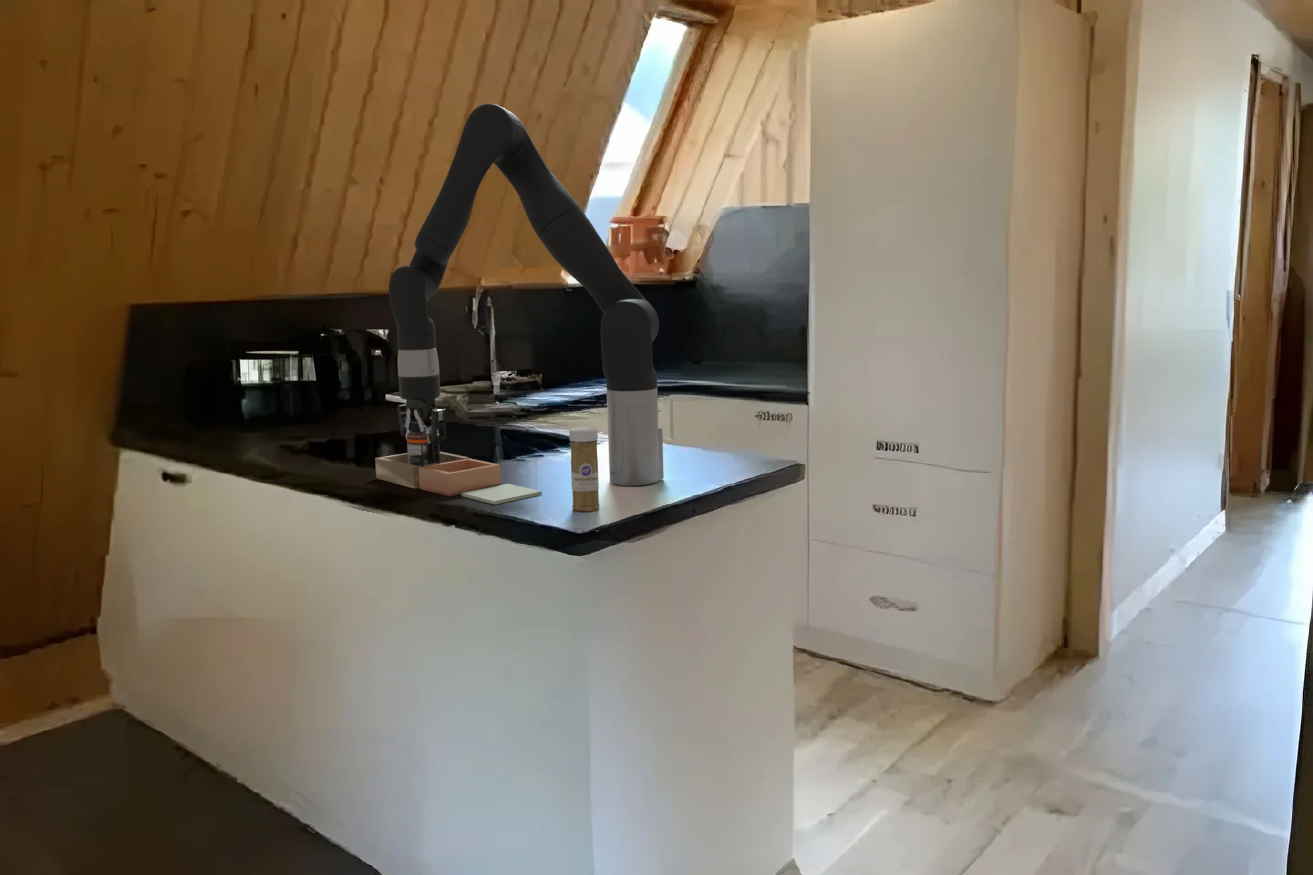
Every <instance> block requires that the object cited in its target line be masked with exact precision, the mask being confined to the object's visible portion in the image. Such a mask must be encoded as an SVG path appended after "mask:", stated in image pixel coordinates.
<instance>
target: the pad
mask: <svg viewBox="0 0 1313 875" xmlns="http://www.w3.org/2000/svg"><path fill="white" fill-rule="evenodd" d="M460 495H461V497H463V498H467V499H471V500H474V501H479V502H483V503H487V504H490V505H500V504H503V503H509V502H513V501H518V500H523V499H526V498H533V497H537V496H541V495H543V492H542V490H538V489H534V488H529V487H524V486H520V485H517V484H511V483H505V484H501V485H499V486H494V487H489V488H484V489H479V490H473V491H468V492H463V493H461V494H460Z"/></svg>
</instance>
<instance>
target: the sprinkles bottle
mask: <svg viewBox="0 0 1313 875" xmlns="http://www.w3.org/2000/svg"><path fill="white" fill-rule="evenodd" d="M568 437H569V442H570V453H571V454H570V457H571V458H570V474H571V476H570V478H571V489H572V506H571V507H572V510H573V511H576V512H581V513H583V512H584V513H585V512H593V511H597V510H599V509H600V499H599V495H600V494H599V488H600V487H599V459H598V439H599V436H598V428H596V427H593V426H576V427H572V428H570V429H569V434H568Z"/></svg>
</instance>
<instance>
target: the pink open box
mask: <svg viewBox="0 0 1313 875" xmlns="http://www.w3.org/2000/svg"><path fill="white" fill-rule="evenodd" d="M418 470H419V490H424V491H427V492H431V493H435V494H438V493H439V494H438V495H442V496H447V497H454V496H459V495H462V494H461V493H463V492H468V491H473V490H479V489H484V488H489V487H494V486H499V485H502V476H501V475H502V474H501V464H498V463H493V462H488V461H485V460H479V459H473V458H469V459H463V460H457V461H452V462H446V463H440V464H434V465H428V466H423V467H418Z"/></svg>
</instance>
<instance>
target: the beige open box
mask: <svg viewBox="0 0 1313 875" xmlns="http://www.w3.org/2000/svg"><path fill="white" fill-rule="evenodd" d="M463 459H469V457H468V456H463V455H458V454H453V453H448V452H445V451H444V452H443V451H440V462H441V463H446V462H452V461H457V460H463ZM374 462H375V463H374V464H375V474H376V476H375V477H376V479H377V480H380V481H381V480H382V481H385V482H389V483H393V484H396V485H400V486H404V487H408V488H410V489H411V488H412V489H418V488H419V489H420V485H419V476H418V466H415V465H411V464H409V460H408V452H406V453H405V452H404V453H399V454H391V455H388V456H387V455H386V456H380V457H379V456H378V457H375V458H374Z"/></svg>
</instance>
